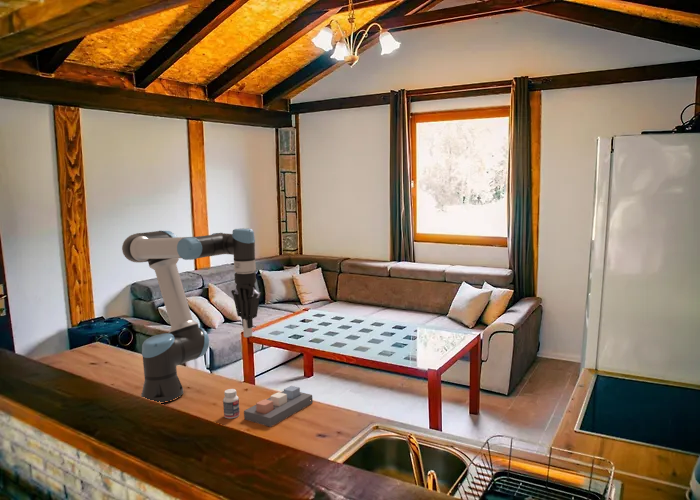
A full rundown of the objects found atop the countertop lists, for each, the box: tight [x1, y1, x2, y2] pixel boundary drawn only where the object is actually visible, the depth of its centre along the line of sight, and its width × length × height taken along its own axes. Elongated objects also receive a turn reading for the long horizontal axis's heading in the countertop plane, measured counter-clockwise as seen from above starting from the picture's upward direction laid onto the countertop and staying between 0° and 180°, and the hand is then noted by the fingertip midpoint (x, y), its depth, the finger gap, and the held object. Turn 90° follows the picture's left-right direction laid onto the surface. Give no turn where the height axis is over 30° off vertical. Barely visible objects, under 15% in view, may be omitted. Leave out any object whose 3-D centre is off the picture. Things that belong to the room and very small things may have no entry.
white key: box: [269, 391, 287, 407], centre depth 182 cm, size 4×4×4 cm
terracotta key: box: [255, 398, 274, 414], centre depth 176 cm, size 4×4×4 cm
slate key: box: [283, 385, 301, 399], centre depth 188 cm, size 4×4×4 cm
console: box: [243, 390, 314, 428], centre depth 182 cm, size 12×22×3 cm, turn 146°
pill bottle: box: [222, 388, 240, 420], centre depth 180 cm, size 5×5×9 cm
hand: (248, 336), depth 189 cm, fingers closed
